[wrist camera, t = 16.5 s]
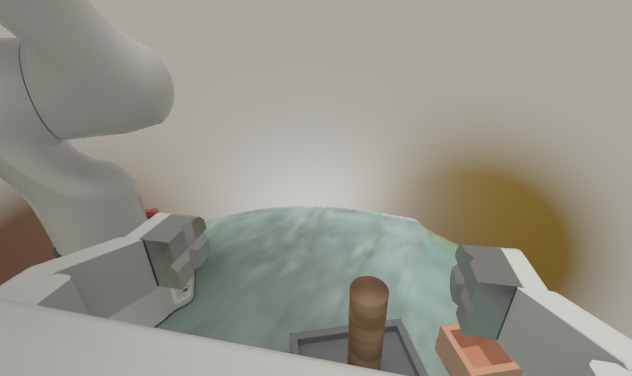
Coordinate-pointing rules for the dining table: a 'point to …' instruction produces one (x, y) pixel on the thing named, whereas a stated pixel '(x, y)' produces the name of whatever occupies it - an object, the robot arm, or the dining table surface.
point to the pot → (473, 354)
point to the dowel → (367, 321)
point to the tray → (334, 348)
